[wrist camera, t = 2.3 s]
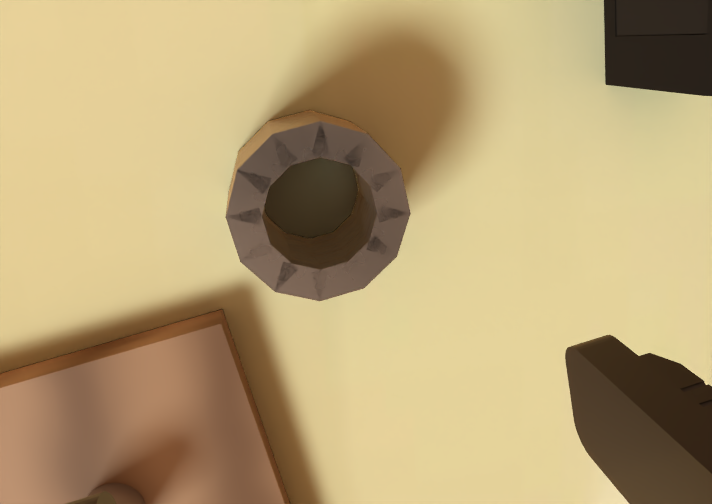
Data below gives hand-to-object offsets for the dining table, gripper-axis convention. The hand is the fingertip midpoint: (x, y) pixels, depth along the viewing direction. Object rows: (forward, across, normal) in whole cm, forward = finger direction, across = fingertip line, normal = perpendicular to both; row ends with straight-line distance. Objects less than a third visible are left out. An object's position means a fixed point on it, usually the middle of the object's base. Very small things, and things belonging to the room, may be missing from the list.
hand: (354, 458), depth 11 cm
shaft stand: (+17, +11, +10) cm, 22 cm away
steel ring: (+17, -1, -1) cm, 17 cm away
